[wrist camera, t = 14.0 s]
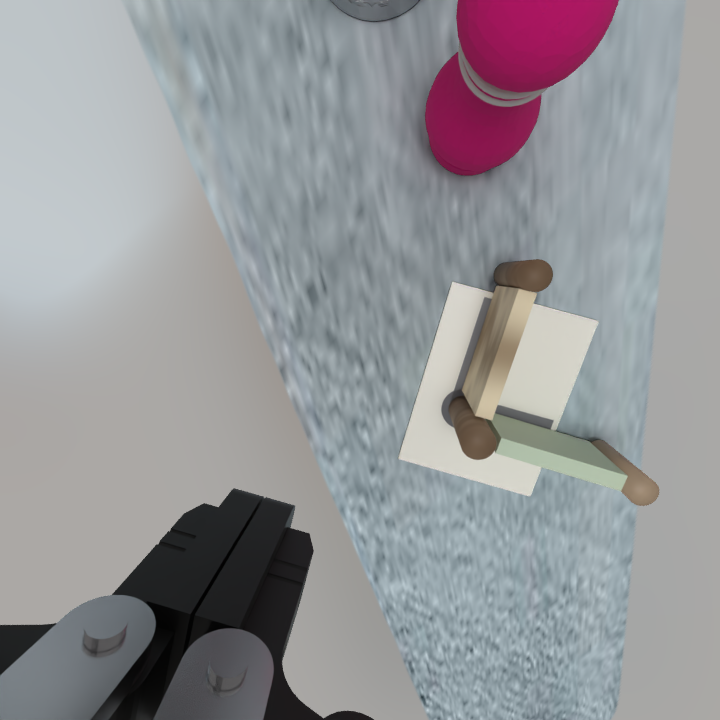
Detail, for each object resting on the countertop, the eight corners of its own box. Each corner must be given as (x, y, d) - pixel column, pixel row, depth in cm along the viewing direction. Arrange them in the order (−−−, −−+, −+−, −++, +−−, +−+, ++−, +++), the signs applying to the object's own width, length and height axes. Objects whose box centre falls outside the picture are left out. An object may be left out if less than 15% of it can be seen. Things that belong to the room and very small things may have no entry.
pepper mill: (496, 195, 33) (636, 84, 13) (408, 165, 33) (420, 11, 14) (535, 97, 31) (756, -191, 12) (442, 66, 32) (511, -270, 12)
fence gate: (477, 427, 36) (495, 462, 29) (485, 405, 36) (505, 436, 29) (604, 465, 36) (651, 509, 29) (614, 443, 35) (664, 483, 29)
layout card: (452, 281, 35) (452, 281, 34) (597, 320, 34) (599, 321, 34) (398, 457, 38) (398, 459, 38) (529, 494, 38) (530, 496, 37)
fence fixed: (496, 258, 34) (523, 254, 26) (525, 266, 34) (561, 264, 26) (444, 416, 37) (455, 454, 29) (471, 424, 37) (490, 464, 29)
